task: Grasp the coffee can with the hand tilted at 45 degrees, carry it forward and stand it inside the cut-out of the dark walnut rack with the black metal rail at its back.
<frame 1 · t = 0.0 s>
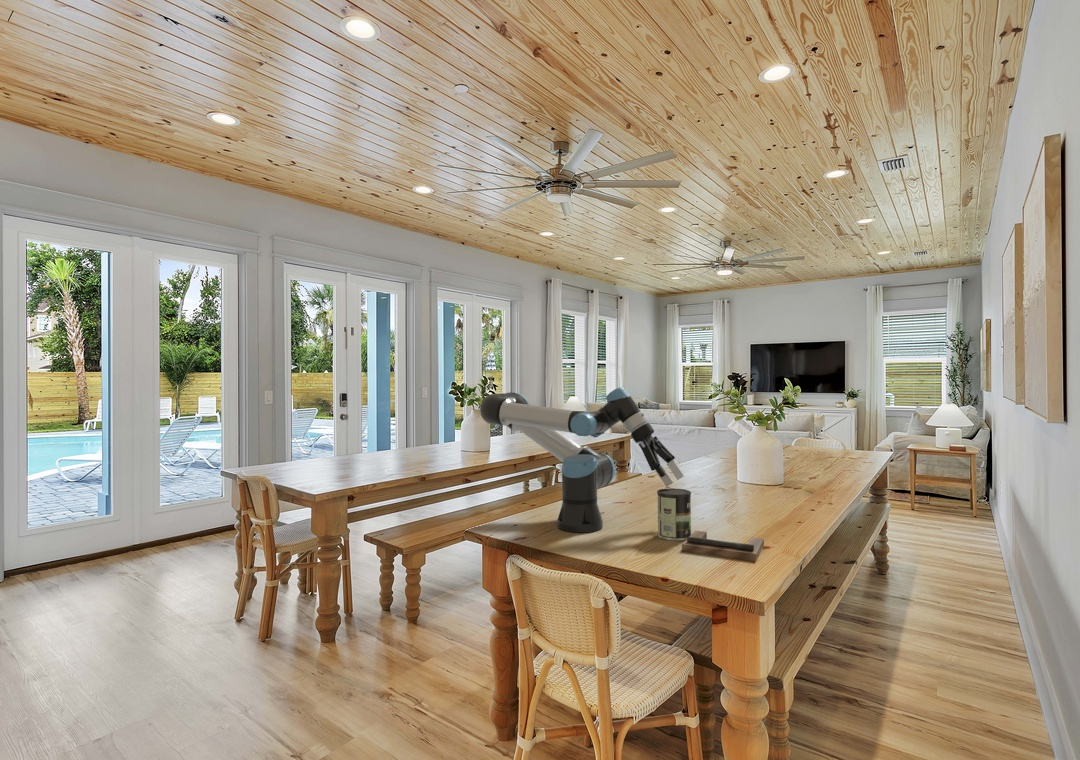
hand: (675, 481, 187), 15 cm above the table, tool tilted 35°, fingers open, 13 cm apart
coffee can: (674, 536, 177), on the table
rack: (723, 548, 164), on the table
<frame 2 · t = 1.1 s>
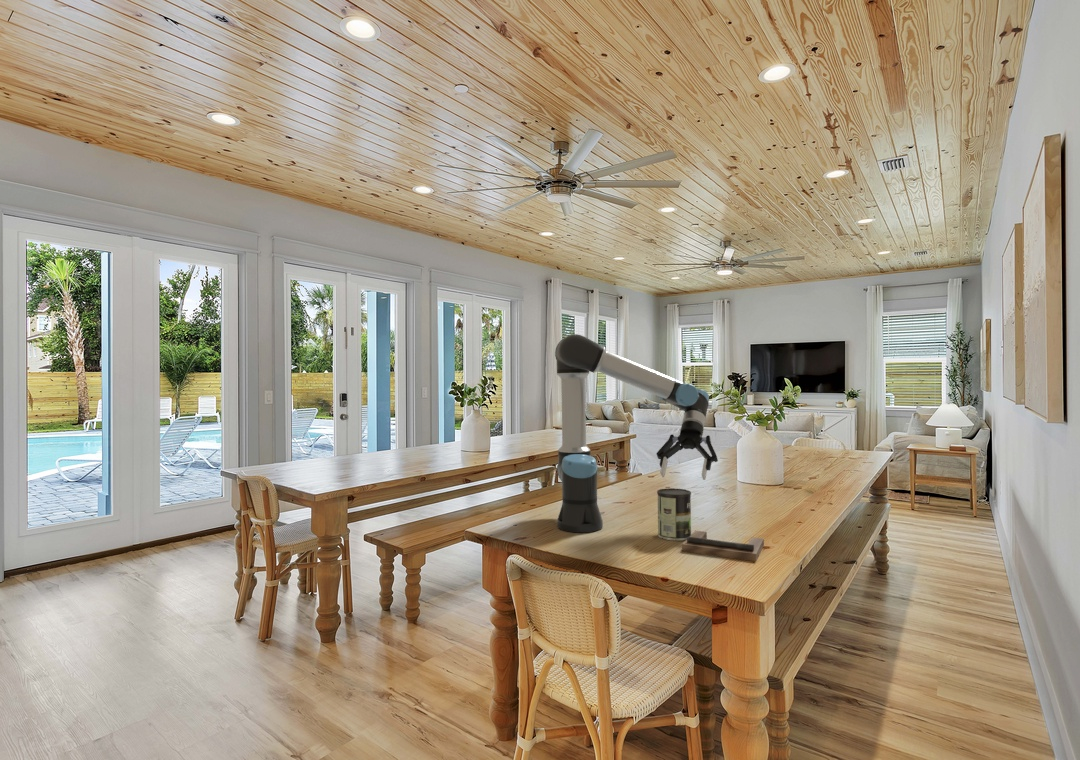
hand: (682, 476, 186), 17 cm above the table, tool tilted 45°, fingers open, 13 cm apart
nothing on the table moved.
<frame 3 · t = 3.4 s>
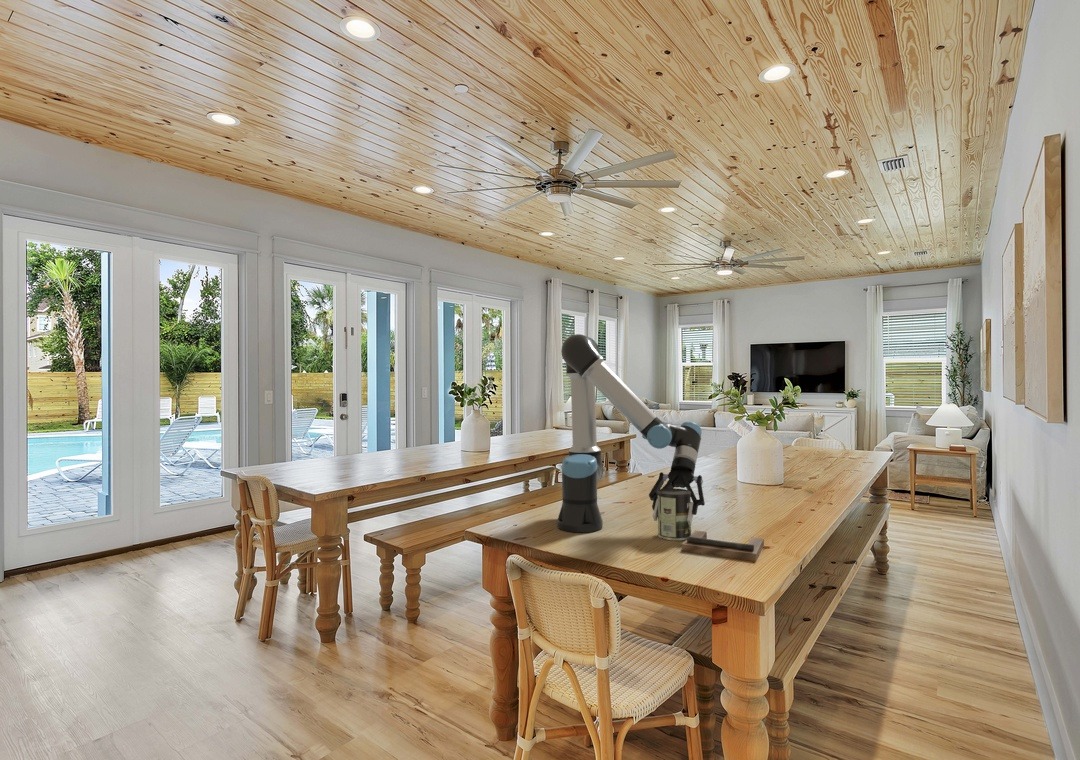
hand: (671, 520, 174), 6 cm above the table, tool tilted 45°, fingers closed on coffee can, 10 cm apart
coffee can: (674, 536, 177), on the table, touching gripper
when the fingers open (7 cm above the table, at t = 9.2 s): coffee can drops 1 cm, on the table.
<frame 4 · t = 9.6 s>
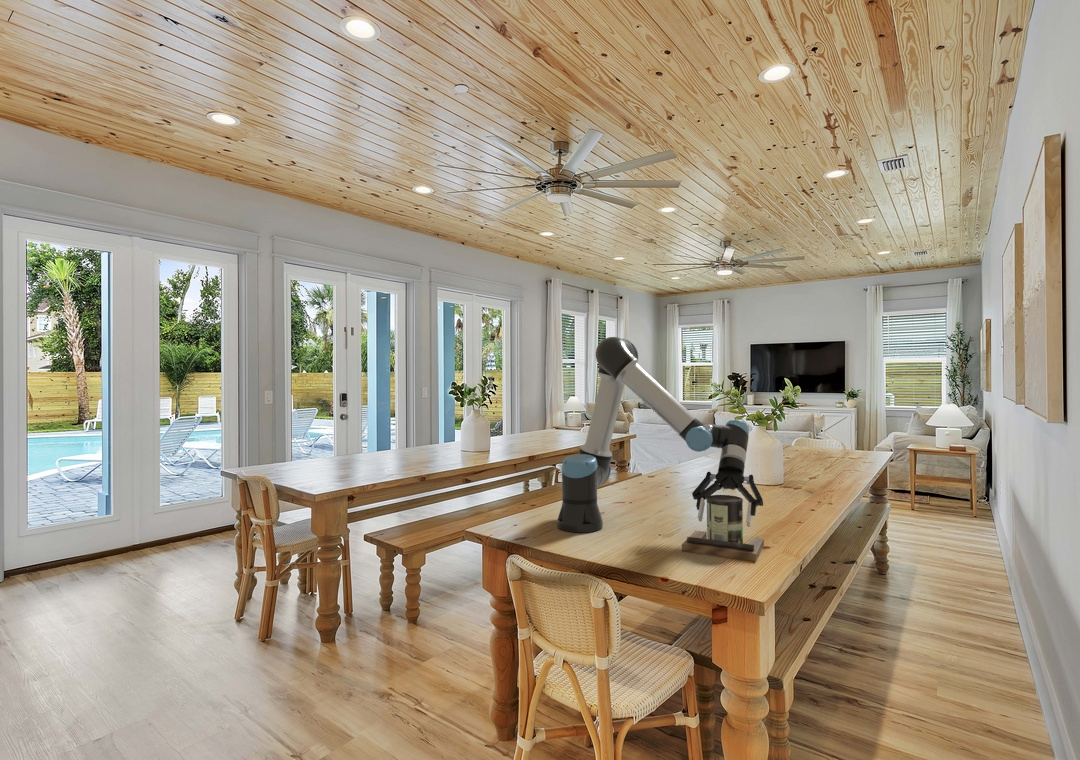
hand: (723, 521, 164), 8 cm above the table, tool tilted 45°, fingers open, 13 cm apart
coffee can: (724, 546, 166), on the table
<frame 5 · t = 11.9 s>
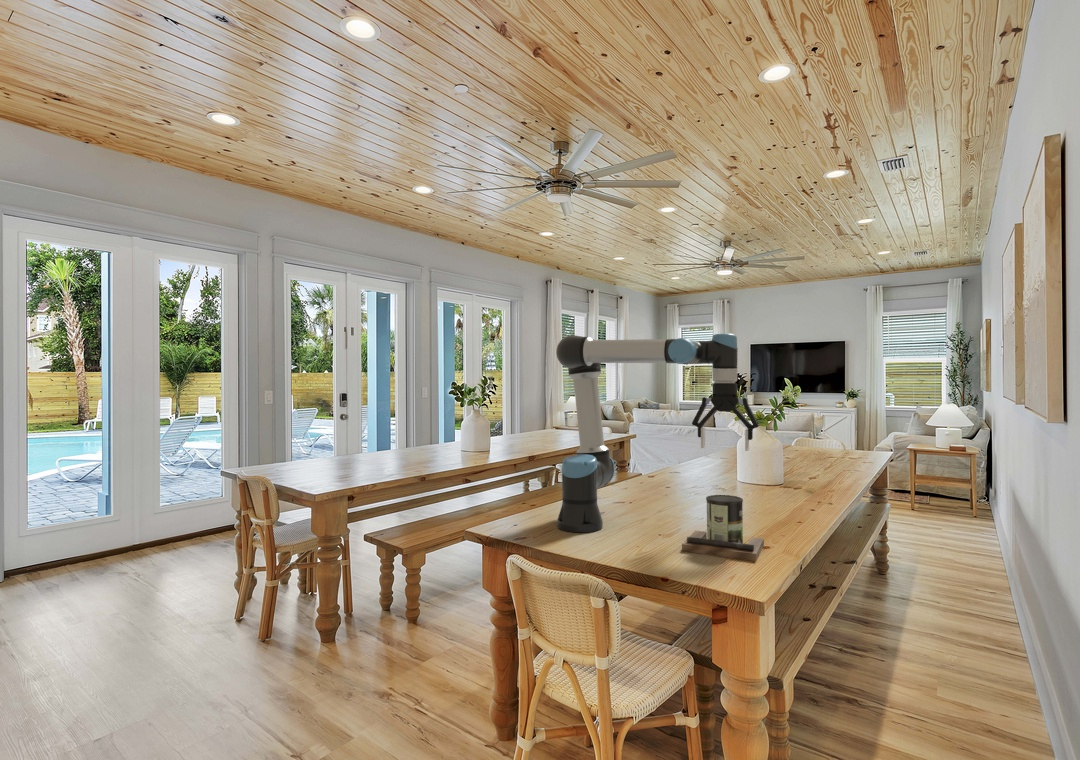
hand: (724, 449, 180), 27 cm above the table, tool pointing down, fingers open, 13 cm apart
nothing on the table moved.
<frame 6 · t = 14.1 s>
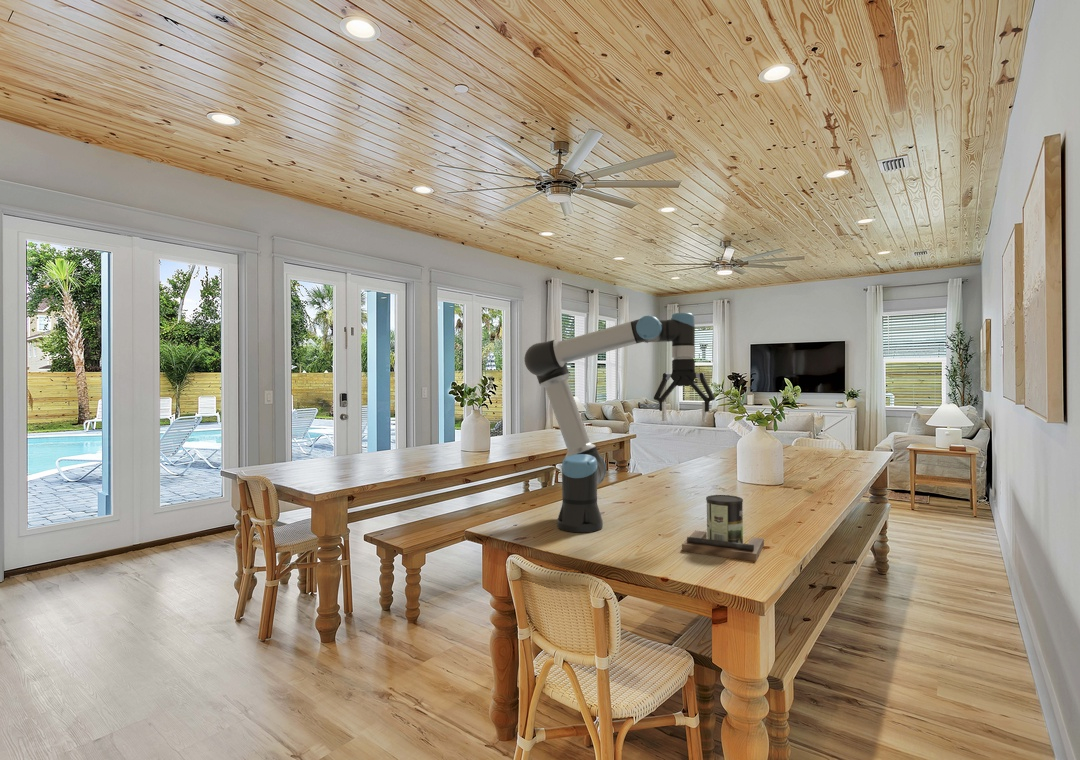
hand: (683, 421, 192), 35 cm above the table, tool pointing down, fingers open, 13 cm apart
nothing on the table moved.
at the end: coffee can inside the target area on the rack (0.1 cm from its centre), point 0.0 cm above the rack's base; coffee can tilted 0°; the gripper is holding nothing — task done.
